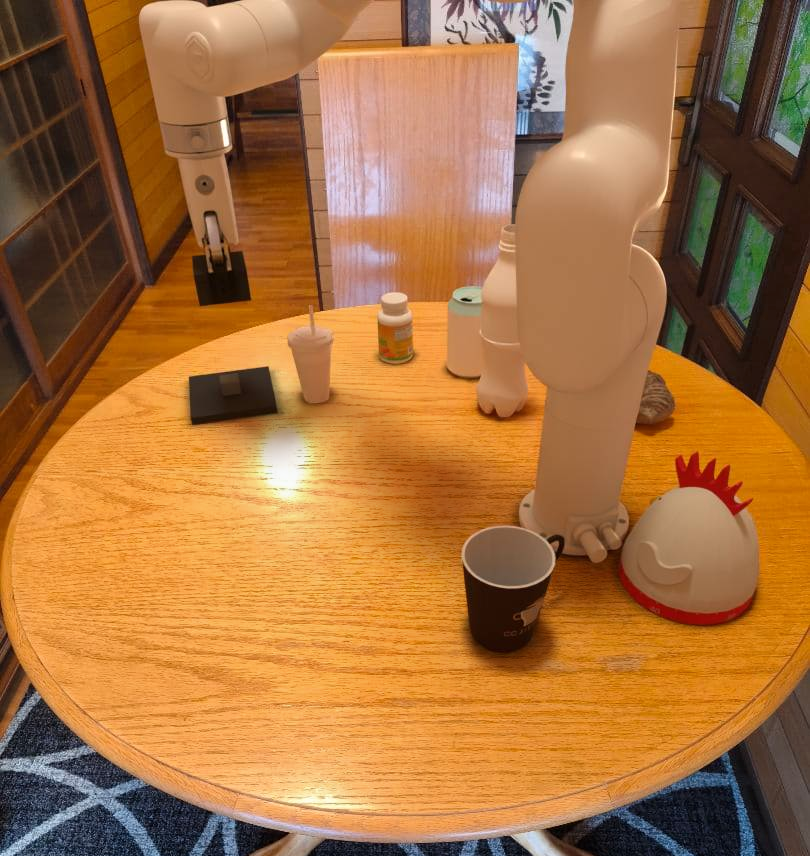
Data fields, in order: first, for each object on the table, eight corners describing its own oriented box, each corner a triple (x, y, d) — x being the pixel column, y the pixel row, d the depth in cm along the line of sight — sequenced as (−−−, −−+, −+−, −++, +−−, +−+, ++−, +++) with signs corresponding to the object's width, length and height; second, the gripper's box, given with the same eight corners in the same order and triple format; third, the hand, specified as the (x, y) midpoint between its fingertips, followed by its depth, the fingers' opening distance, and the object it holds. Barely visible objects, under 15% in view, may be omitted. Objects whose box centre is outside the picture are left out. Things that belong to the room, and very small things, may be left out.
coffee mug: (473, 669, 73) (477, 596, 66) (448, 606, 79) (450, 533, 73) (586, 646, 75) (601, 572, 68) (553, 586, 81) (564, 514, 75)
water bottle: (467, 414, 107) (474, 233, 91) (487, 390, 112) (498, 215, 96) (515, 426, 105) (531, 243, 88) (533, 401, 110) (552, 223, 93)
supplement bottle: (373, 352, 122) (370, 294, 115) (404, 345, 123) (402, 287, 117) (387, 367, 118) (384, 307, 112) (418, 360, 120) (418, 300, 113)
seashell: (636, 444, 102) (680, 422, 105) (645, 400, 97) (690, 379, 100) (589, 410, 108) (631, 390, 111) (595, 368, 103) (639, 348, 105)
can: (494, 380, 114) (499, 303, 107) (447, 380, 115) (449, 304, 107) (490, 357, 120) (494, 283, 112) (445, 358, 120) (446, 284, 112)
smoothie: (331, 410, 109) (322, 317, 100) (288, 406, 110) (276, 314, 101) (343, 387, 114) (335, 297, 104) (302, 384, 115) (291, 294, 105)
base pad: (277, 413, 109) (275, 393, 107) (192, 425, 107) (187, 405, 105) (269, 373, 118) (266, 354, 115) (190, 383, 116) (185, 364, 113)
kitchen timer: (667, 519, 89) (697, 408, 79) (777, 579, 81) (826, 464, 72) (592, 574, 83) (614, 460, 73) (704, 646, 75) (747, 529, 65)
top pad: (251, 300, 96) (246, 269, 93) (199, 306, 95) (193, 275, 92) (247, 280, 101) (242, 250, 98) (197, 286, 100) (191, 255, 97)
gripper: (235, 153, 80) (259, 315, 92) (225, 115, 93) (247, 261, 105) (162, 159, 79) (196, 322, 91) (162, 119, 91) (192, 267, 103)
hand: (223, 288), depth 97 cm, fingers closed on top pad, 6 cm apart
